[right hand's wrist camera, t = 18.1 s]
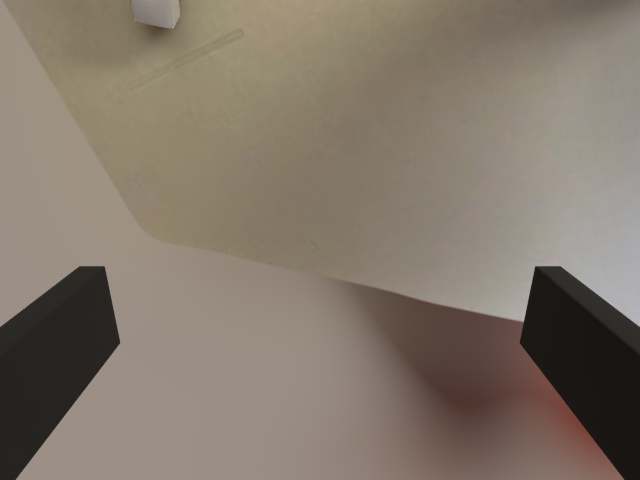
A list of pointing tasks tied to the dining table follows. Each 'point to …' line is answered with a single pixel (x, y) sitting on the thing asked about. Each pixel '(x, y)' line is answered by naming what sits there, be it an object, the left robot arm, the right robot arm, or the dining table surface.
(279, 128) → the dining table surface
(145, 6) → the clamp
